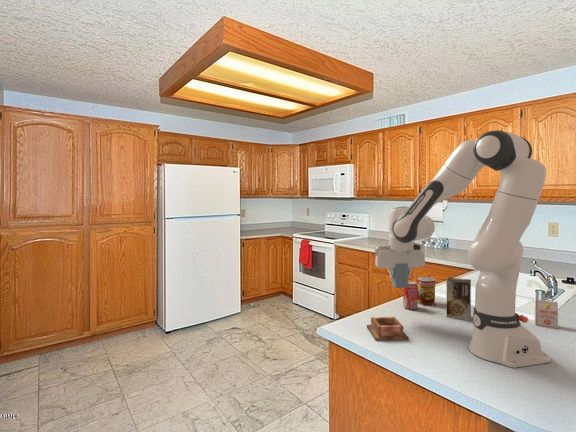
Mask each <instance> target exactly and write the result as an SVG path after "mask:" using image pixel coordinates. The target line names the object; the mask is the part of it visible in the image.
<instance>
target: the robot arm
mask: <svg viewBox="0 0 576 432" xmlns="http://www.w3.org/2000/svg"><path fill="white" fill-rule="evenodd" d="M532 155H533V147H532V145H531V143H530V142H529V141H528V140H527V139H526V138H524V137H522V136H519V135H517V134H515V133H513V132H509V131H503V130H498V129H497V130H490V131H487V132H484V133H483V134H481V135H479V137H478V138H476V140H473V139H472V140H471V139H469V140H465V141H462V142H461V143H460V144H459V145H458V146H456V148H455V149H453V151H452V152H451V153H450V155H449V156H448V158H446V159H445V162H444V163H443V164H442V165H441V168H440V169H439V170H438V171H437V173H436V174H435V175H434V177H433V178H432V179H431V180H430V181H429V182H428V184H427V185H425V187H424V188H423V189H422V191H420V193H419V194H418V195H417V196H416V198H415V199H414V200H413V202H412V203H411V204H410V206H397V207H394V208H392V209H391V210H390V212H389V215H388V231H389V235H388V245H378V246H377V247H376V248H375V250H374V254H375V261H374V265H375V266H376V268H378V269H386V270H387V271H388V273H389V278H390V279H392V278H395V277H394V276H395V274H393V273H392V268H395V264H408V279H410V278H411V273H412V272H413V270H414V268H424V267H425V266H426V257H425V253H424V251H423V250H424V245H422V244H420V243H418V242H415V241H420V240H425V239H428V238H430V237H431V236H432V235H433V234H434V232H435V229H436V228H435V223H434V221H433V219H432V218H431V217H430V216H428V215H427V214H429V212H430V210H432V208H433V207H434V206H436V205H437V204H438V203H440V202H441V201H444V200H446V199H448V198H451V197H455V196H457V195H460V194H461V193H462V192H464V190H466V188H468V187H469V186H470V184H471V183H472V182H473V180H474V179H475V178H476V177H477V175H478V174H479V172H480V171H481V170H482V169H483V168H485V167H488V168H490V169H492V170H493V171H496V172H498V171H499V172H500V181H499V185H498V187H497V190H496V192H495V195H494V198H493V201H492V204H491V206H490V209H489V211H488V214H487V215H486V218H485V220H484V221H483V223H482V225H481V227H480V228H479V231H478V233H477V235H476V237H475V238H474V240H473V241H472V243H471V244H470V246H469V247H468V249H467V251H466V258H467V261H468V263H469V264H470V266H471V267H472V268H473V269H475V270H477V271H479V275H478V278H477V281H476V282H475V300H474V301H475V302H474V308H473V312H472V313H473V314H472V315H473V317H472V318H473V319H472V320H473V331H472V335H471V338H470V343H469V345H468V349H469V351H470V352H471V353H472V354H473V355H474V356H476V357H478V358H481V359H484V360H486V361H489V362H491V363H492V362H494V363H495V364H497V363H498V364H501V365H503V366H507V367H509V368H512V369H513V368H515V369H516V368H522V367H527V366H535V365H541V364H548V363H551V362H552V361H551V357H550V356H549V354H547V353H546V352H545V351H543V350H542V346H541V342H540V340H539V338H538V337H537V336H536V335H535V334H533V333H532V332H531V331H529V330H528V329H526V328H525V327H524V326H523V325H522V324H521V322H522V323H523V324H527V323H528V322H529V317H527V316H525V315H524V314H520V315H519V313H517V312H516V297H517V295H516V294H517V285H518V280H519V275H520V270H521V266H522V265H521V264H522V257H523V255H524V246H523V243H522V242H521V238H522V236H523V235H524V233H525V232H526V230H527V228H528V227H529V226H530V223H531V221H532V219H533V216H534V214H535V212H536V209H537V206H538V204H539V201H540V198H541V195H542V193H543V189H544V184H545V181H546V177H547V176H546V174H547V169H546V165H544V164H543V163H542V162H541V161H539V160H536V159H534V158H532Z"/></svg>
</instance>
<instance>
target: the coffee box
mask: <svg viewBox="0 0 576 432" xmlns="http://www.w3.org/2000/svg"><path fill="white" fill-rule="evenodd" d="M445 281H446V283H445V284H446V315H445V316H446V318H449V319H450V318H451V319H456V320H463V321H469V322H470V321H471V319H472V314H471V312H472V309H471V308H472V305H471V304H472V290H471V289H472V279H467V278H460V277H459V278H456V277H450V276H449V277H447V279H446V280H445Z"/></svg>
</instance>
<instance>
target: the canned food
mask: <svg viewBox="0 0 576 432" xmlns="http://www.w3.org/2000/svg"><path fill="white" fill-rule="evenodd" d="M416 284H417V286H418V305H421V306H425V307H433V306H435V305H436V278H433V277H428V276H419V277H417V281H416Z"/></svg>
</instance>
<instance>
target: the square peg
mask: <svg viewBox="0 0 576 432" xmlns="http://www.w3.org/2000/svg"><path fill="white" fill-rule="evenodd" d="M408 270H409V269H408V264H395V268H392V270H391V272H392V273H393V274H395V276H394V277H395V278H391V286H393V287H394V289H403V288H408V281H409V278H408Z"/></svg>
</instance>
